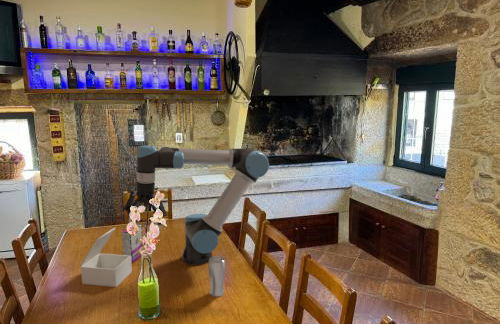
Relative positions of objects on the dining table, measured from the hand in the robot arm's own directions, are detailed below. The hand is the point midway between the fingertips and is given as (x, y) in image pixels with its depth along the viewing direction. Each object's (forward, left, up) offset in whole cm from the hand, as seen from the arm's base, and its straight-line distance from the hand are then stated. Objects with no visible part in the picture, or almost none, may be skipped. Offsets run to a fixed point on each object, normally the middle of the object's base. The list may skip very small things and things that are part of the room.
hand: (144, 229), depth 153 cm
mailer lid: (+21, +2, -9) cm, 23 cm away
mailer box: (+18, +2, -24) cm, 30 cm away
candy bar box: (+16, -18, -24) cm, 34 cm away
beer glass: (-34, +6, -24) cm, 42 cm away
